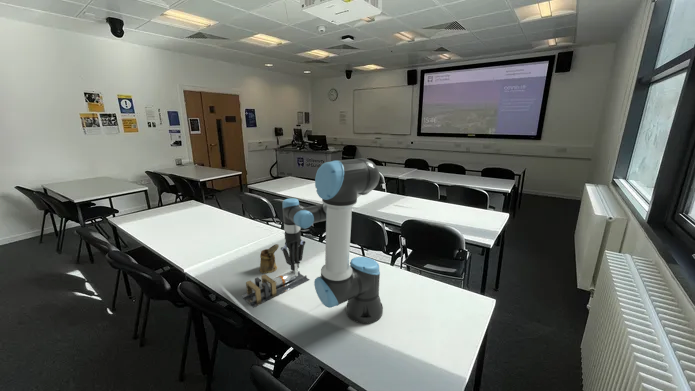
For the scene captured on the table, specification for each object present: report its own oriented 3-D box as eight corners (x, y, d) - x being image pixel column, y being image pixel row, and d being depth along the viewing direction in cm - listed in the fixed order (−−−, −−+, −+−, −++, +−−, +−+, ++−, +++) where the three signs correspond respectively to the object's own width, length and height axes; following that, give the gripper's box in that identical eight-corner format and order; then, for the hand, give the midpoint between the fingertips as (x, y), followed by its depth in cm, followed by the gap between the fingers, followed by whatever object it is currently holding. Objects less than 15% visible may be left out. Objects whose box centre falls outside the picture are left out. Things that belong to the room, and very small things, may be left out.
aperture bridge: (269, 297, 125) (268, 285, 123) (266, 299, 124) (265, 286, 122) (258, 289, 131) (257, 277, 130) (256, 290, 130) (254, 278, 129)
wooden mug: (270, 280, 140) (267, 247, 136) (256, 271, 149) (253, 239, 145) (285, 273, 147) (282, 241, 142) (271, 264, 156) (268, 234, 151)
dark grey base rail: (310, 281, 139) (310, 278, 139) (253, 309, 119) (253, 305, 118) (295, 272, 147) (295, 269, 147) (240, 297, 127) (240, 293, 126)
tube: (292, 278, 141) (290, 270, 141) (296, 279, 138) (294, 270, 138) (266, 290, 131) (264, 281, 131) (271, 291, 128) (269, 282, 128)
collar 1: (261, 301, 122) (260, 288, 121) (257, 303, 121) (255, 290, 119) (251, 292, 129) (250, 280, 127) (247, 294, 127) (245, 282, 126)
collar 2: (276, 294, 128) (275, 281, 126) (272, 296, 126) (271, 283, 125) (266, 286, 134) (265, 274, 132) (262, 287, 132) (261, 275, 131)
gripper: (299, 225, 140) (301, 267, 146) (276, 232, 132) (279, 277, 138) (308, 229, 135) (310, 273, 141) (285, 237, 126) (288, 283, 133)
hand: (295, 275), depth 140 cm, fingers closed
